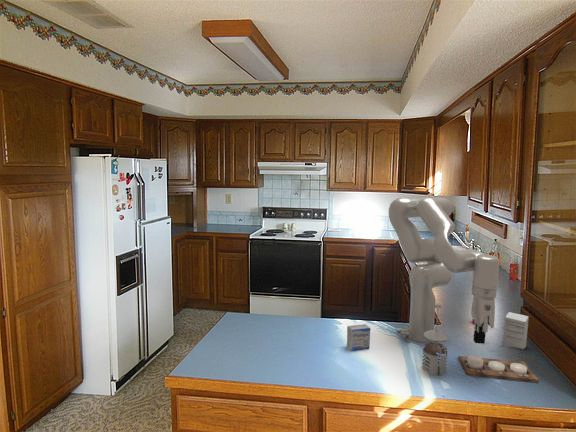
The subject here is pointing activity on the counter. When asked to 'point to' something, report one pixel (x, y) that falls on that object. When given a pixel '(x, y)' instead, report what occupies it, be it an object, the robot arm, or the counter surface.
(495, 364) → the button
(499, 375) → the button panel
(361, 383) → the counter surface
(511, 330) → the supplement box
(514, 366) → the button
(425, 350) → the french press
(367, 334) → the medicine box
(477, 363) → the three-pip button
